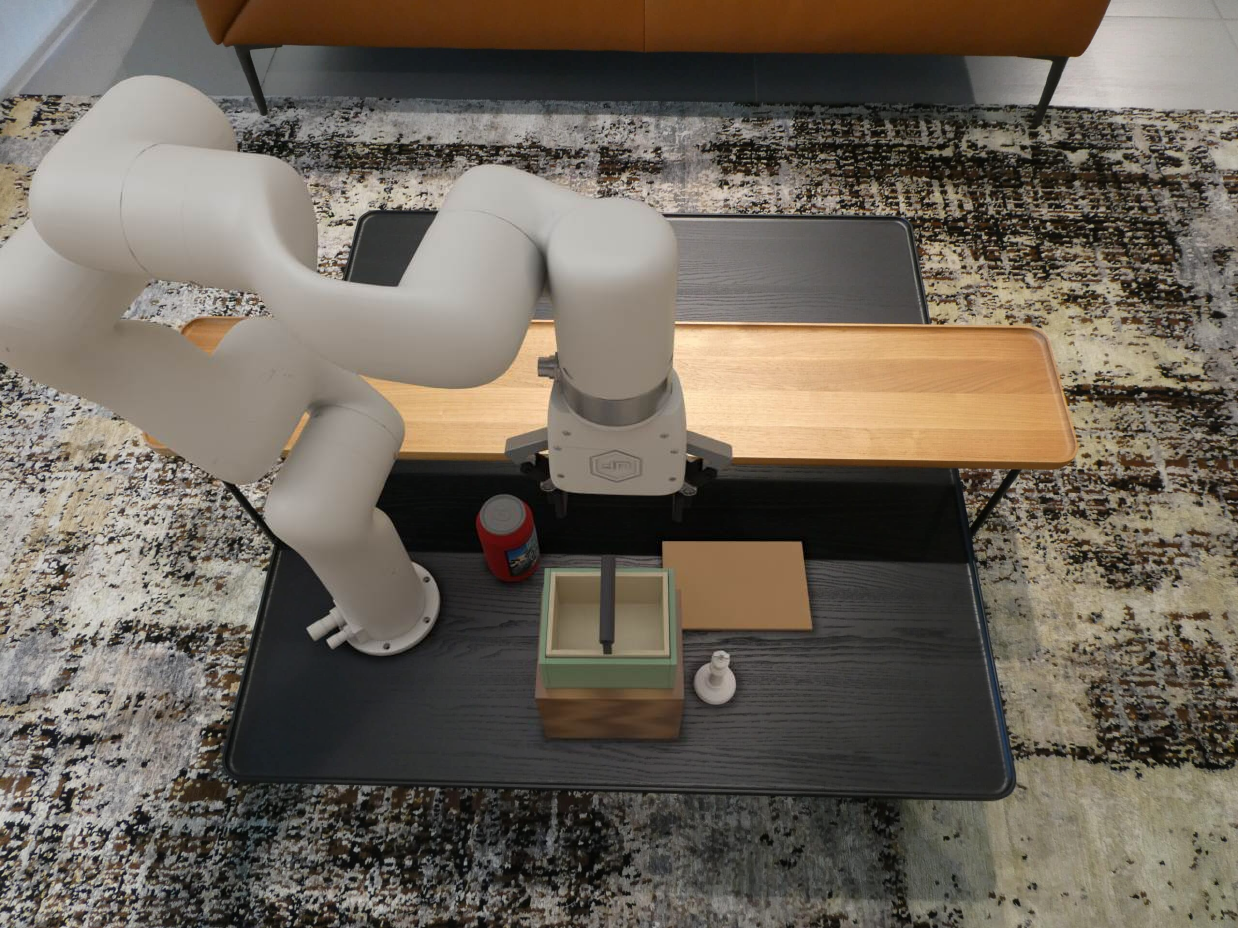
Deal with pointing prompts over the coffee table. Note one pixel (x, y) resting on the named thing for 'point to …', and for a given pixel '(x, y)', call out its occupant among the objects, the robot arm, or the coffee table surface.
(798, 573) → the cork mat
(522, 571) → the beverage can
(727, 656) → the chess piece
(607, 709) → the wooden block
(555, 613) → the cream bin
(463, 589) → the coffee table surface
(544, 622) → the green bin
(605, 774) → the coffee table surface
